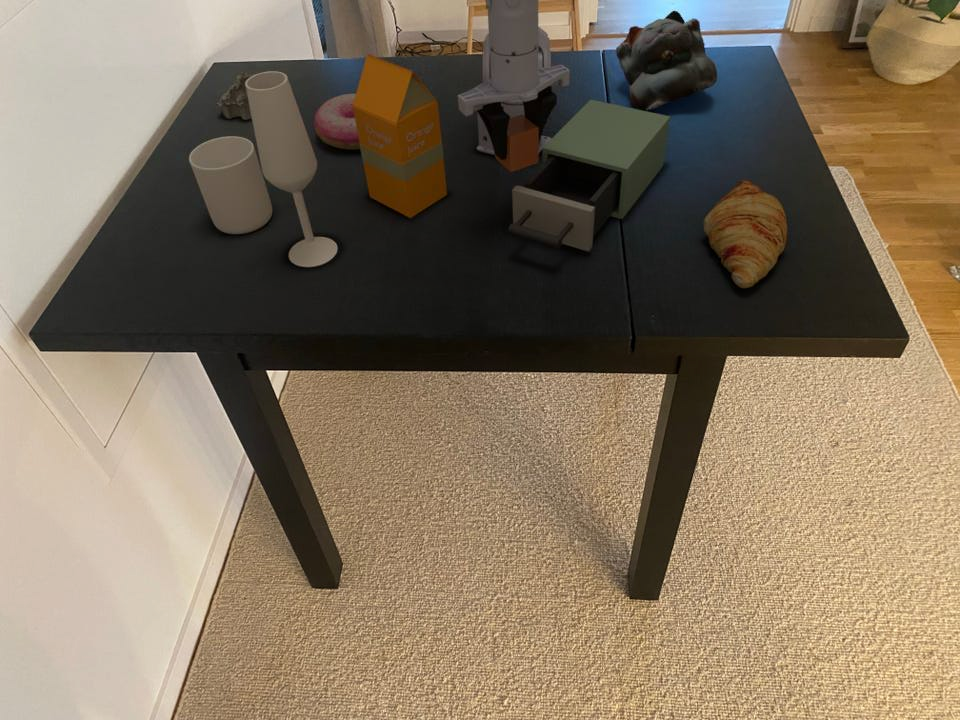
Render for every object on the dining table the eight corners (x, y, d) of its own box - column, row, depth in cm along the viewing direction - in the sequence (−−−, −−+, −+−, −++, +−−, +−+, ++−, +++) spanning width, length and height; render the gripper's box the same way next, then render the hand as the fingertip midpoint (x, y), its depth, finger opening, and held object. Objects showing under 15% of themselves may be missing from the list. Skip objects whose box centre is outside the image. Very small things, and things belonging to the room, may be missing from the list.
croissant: (761, 319, 90) (809, 278, 84) (693, 283, 88) (737, 239, 82) (755, 217, 104) (796, 176, 98) (696, 184, 102) (734, 140, 96)
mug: (287, 189, 111) (269, 123, 103) (263, 236, 102) (241, 169, 95) (233, 188, 112) (210, 123, 104) (205, 236, 103) (178, 169, 96)
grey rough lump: (249, 91, 135) (242, 69, 132) (284, 95, 133) (278, 73, 130) (216, 118, 128) (208, 95, 125) (252, 123, 126) (246, 100, 123)
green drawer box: (622, 219, 100) (627, 168, 95) (542, 197, 105) (542, 147, 100) (663, 165, 109) (670, 116, 104) (587, 147, 114) (590, 99, 109)
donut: (377, 161, 115) (372, 131, 111) (302, 151, 118) (295, 122, 115) (410, 120, 124) (406, 91, 120) (339, 111, 127) (333, 84, 124)
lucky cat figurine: (627, 117, 120) (608, 28, 115) (629, 112, 131) (613, 30, 126) (722, 91, 115) (706, -3, 111) (716, 88, 126) (702, 2, 122)
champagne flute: (344, 239, 101) (305, 68, 84) (327, 269, 96) (281, 96, 79) (299, 234, 102) (252, 66, 85) (280, 264, 98) (225, 92, 81)
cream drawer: (571, 273, 92) (573, 232, 87) (494, 248, 96) (492, 209, 92) (632, 195, 103) (636, 156, 98) (560, 176, 107) (561, 138, 103)
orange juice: (409, 218, 103) (389, 82, 89) (368, 197, 108) (343, 63, 94) (448, 194, 107) (434, 59, 93) (407, 174, 112) (388, 42, 97)
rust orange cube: (494, 158, 96) (493, 123, 93) (522, 148, 98) (521, 114, 94) (510, 172, 94) (509, 136, 90) (538, 162, 95) (538, 127, 91)
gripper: (474, 74, 80) (481, 181, 90) (585, 42, 85) (580, 148, 94) (446, 51, 85) (455, 156, 95) (553, 22, 89) (551, 125, 99)
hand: (516, 150), depth 95 cm, fingers closed on rust orange cube, 4 cm apart
